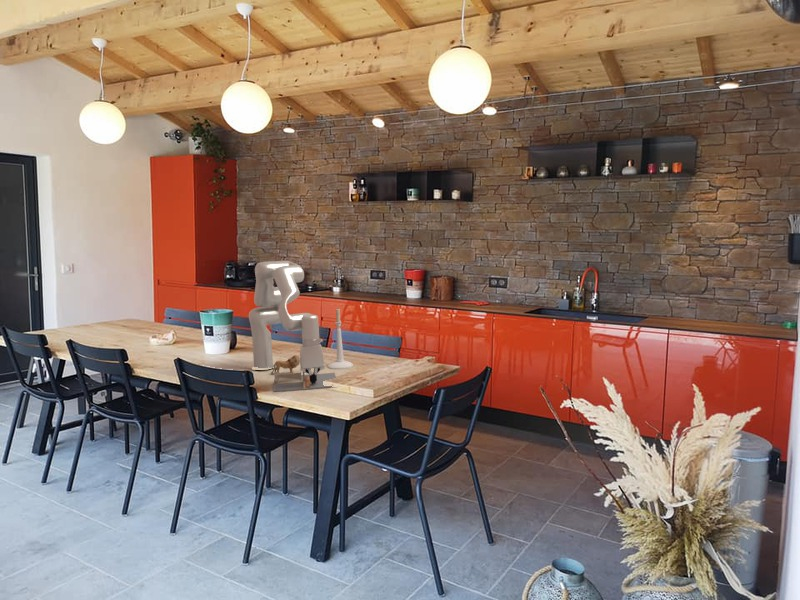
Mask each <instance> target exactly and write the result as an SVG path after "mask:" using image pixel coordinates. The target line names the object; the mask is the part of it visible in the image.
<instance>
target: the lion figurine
mask: <svg viewBox="0 0 800 600" xmlns="http://www.w3.org/2000/svg"><path fill="white" fill-rule="evenodd" d="M273 364H274V368H273V369H272V371H271V372H270V373H272V374H273V373H274V372H279V374H282V373H280V369H281V368H282V369H289V373H294V371H293V369H295V368H296V367H298V365H300V356H299V355H296V354H295V355H293V356H291V357H289V358H288V359H287V360H285V361H284V360H277V361H275V362H274V363H273ZM275 365H276V368H275Z"/></svg>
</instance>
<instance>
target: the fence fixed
mask: <svg viewBox="0 0 800 600" xmlns="http://www.w3.org/2000/svg"><path fill="white" fill-rule="evenodd" d="M273 373H274V375H273V376H274V383H286V382H299V381H302V379H301V375H303V381H305V378H304V373H307V372H303V371H300V372H293V373H290V372H287V373H281V374H279V373H280V371H279V372H277V371H276V372H273ZM307 374H308V373H307Z"/></svg>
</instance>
